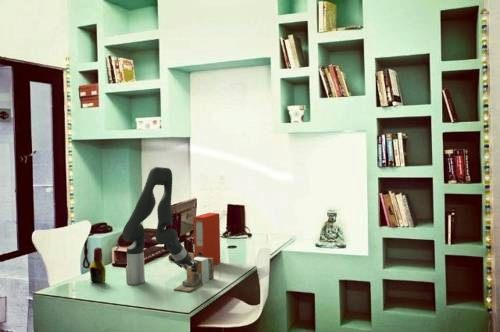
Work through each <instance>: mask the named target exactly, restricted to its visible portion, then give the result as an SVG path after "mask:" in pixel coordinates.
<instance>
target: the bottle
mask: <svg viewBox="0 0 500 332" xmlns="http://www.w3.org/2000/svg"><path fill="white" fill-rule="evenodd" d="M106 271H107V269H106V266H105V263H104V262H103V248H102V247H95V248H94V249H93V261H92V262H91V263H90V266H89V273H90V276H89V277H90V281H91V282H93V283H95V284H99V285H101V284H104V283H106V276H107V275H106V273H107V272H106Z"/></svg>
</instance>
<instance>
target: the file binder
mask: <svg viewBox="0 0 500 332" xmlns="http://www.w3.org/2000/svg"><path fill="white" fill-rule="evenodd" d="M220 218H221V216H220V213H218V212H206V213H202V214H199V215H196V216H193V253H194V258H195V257H207V258H213V267H214V266H216V265H218V264H220V263H221V233H220V232H221V227H220Z"/></svg>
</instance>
